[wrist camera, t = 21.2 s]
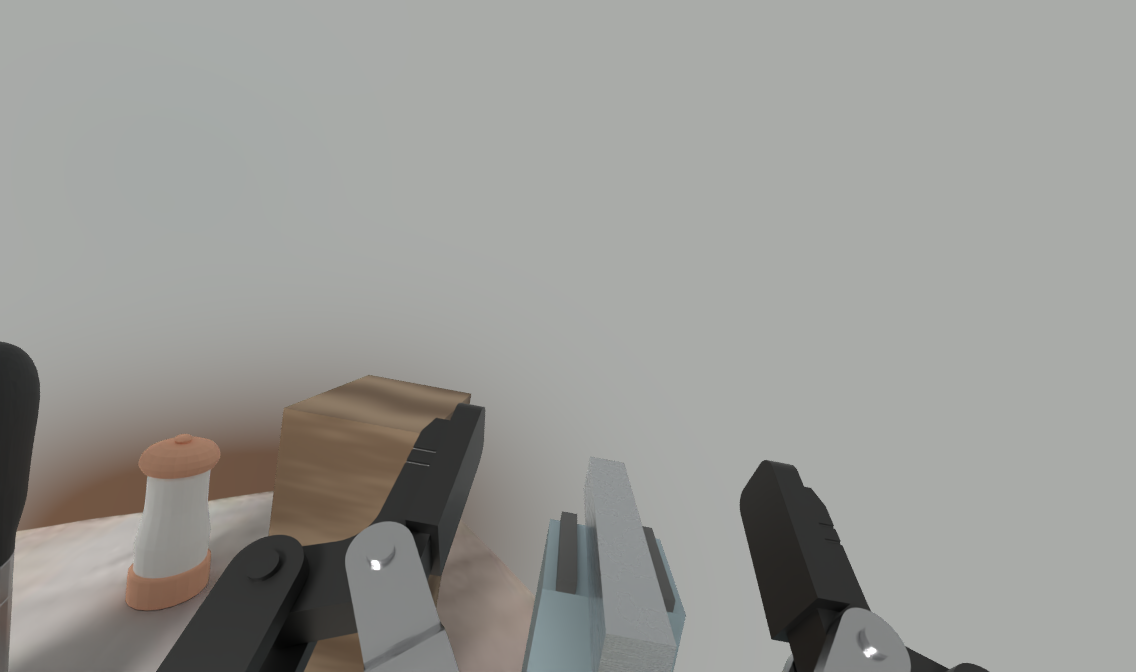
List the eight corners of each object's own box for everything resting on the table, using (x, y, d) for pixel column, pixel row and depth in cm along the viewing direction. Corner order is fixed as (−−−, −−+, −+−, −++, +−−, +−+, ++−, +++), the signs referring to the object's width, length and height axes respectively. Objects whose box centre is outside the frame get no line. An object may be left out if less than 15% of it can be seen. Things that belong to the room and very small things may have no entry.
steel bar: (583, 489, 50) (590, 456, 50) (617, 495, 50) (624, 462, 50) (592, 697, 24) (606, 633, 24) (662, 710, 24) (676, 646, 24)
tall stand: (328, 665, 45) (368, 372, 42) (430, 683, 45) (478, 392, 42) (217, 830, 31) (265, 410, 28) (365, 858, 31) (430, 441, 28)
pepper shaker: (106, 602, 48) (119, 439, 46) (171, 562, 55) (184, 419, 53) (166, 617, 47) (182, 452, 45) (224, 574, 54) (239, 431, 53)
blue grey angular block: (514, 708, 44) (552, 509, 42) (618, 728, 44) (661, 529, 42) (496, 829, 34) (544, 576, 32) (631, 854, 34) (688, 603, 32)
